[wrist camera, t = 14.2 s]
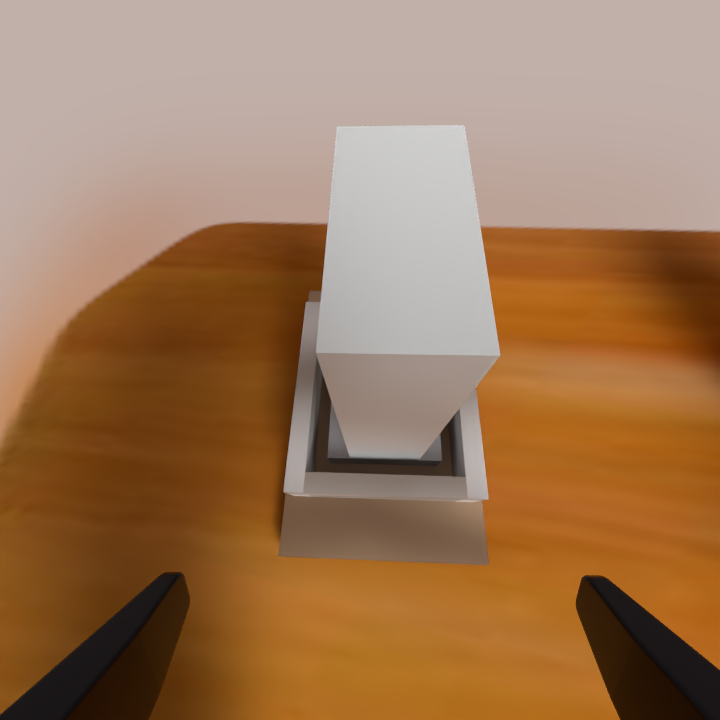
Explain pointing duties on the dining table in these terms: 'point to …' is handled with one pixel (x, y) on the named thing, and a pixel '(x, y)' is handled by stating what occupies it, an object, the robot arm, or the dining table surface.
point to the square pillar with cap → (402, 293)
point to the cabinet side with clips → (379, 485)
